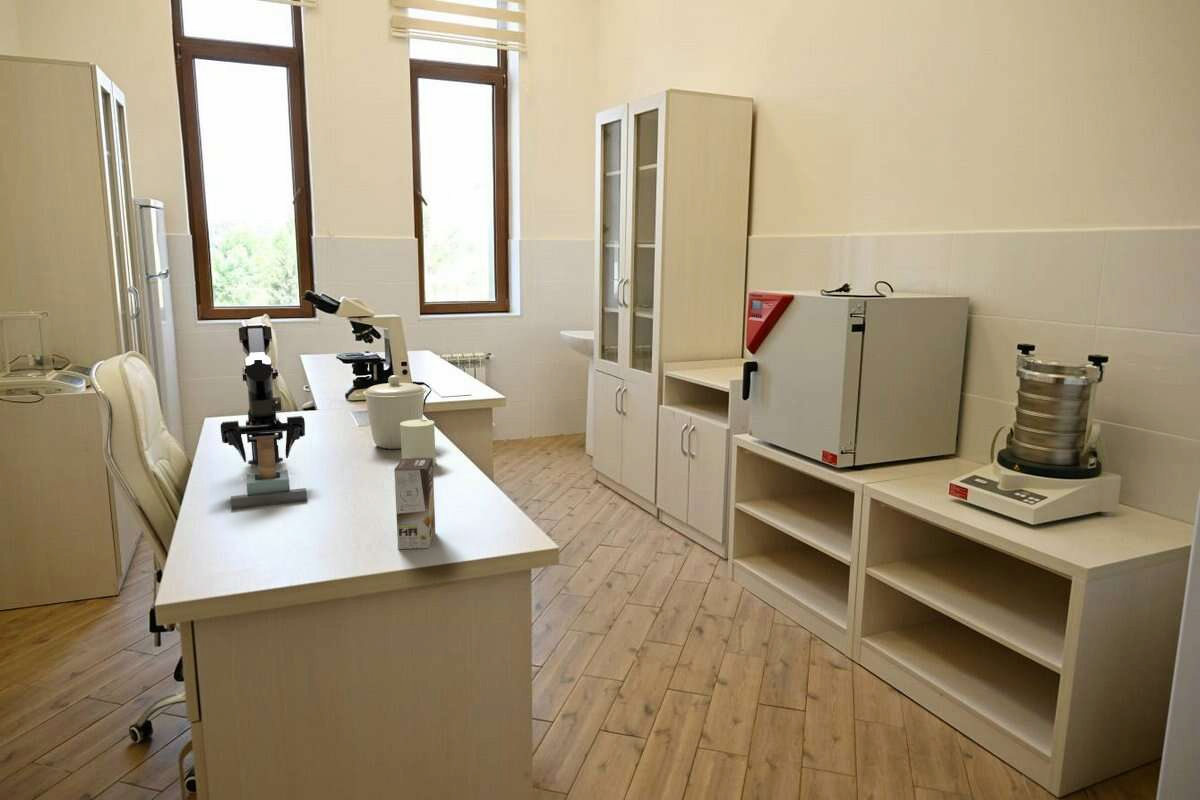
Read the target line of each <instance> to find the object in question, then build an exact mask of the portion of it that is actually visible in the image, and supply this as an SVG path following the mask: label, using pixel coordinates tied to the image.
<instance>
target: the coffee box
mask: <svg viewBox="0 0 1200 800" xmlns="http://www.w3.org/2000/svg"><path fill="white" fill-rule="evenodd" d="M393 470H394V471H393V472H394V489H395V490H394V491H395V509H396V510H395V511H396V512H395V513H396V529H397V530H396V533H397V534H396V535H397V537H396V538H397V549H398V550H411V549H412V550H413V548H414V549H415V550H416V548H417V549H430V547H431V545H432V542H433V540H434V537H435V535H436V514H435V513H436V511H435V509H436V508H435V483H434V481H435V480H434V466H433V458H406V459H402V458H401V460H400V461H399V462H398V464H397V465H396V467H394V469H393Z"/></svg>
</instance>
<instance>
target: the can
mask: <svg viewBox="0 0 1200 800" xmlns="http://www.w3.org/2000/svg"><path fill="white" fill-rule="evenodd" d="M435 424H436V423H435V421H434V420H432V419H431V420H430V419H425V418H423V419H417V420H408V421H404V422H401V423H400V429H401V447H402V448H401V460H402V459H406V458H433V467H434V466H436V465H435V464H437V459H436V457H437V455H436V436H435Z"/></svg>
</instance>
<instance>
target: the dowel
mask: <svg viewBox="0 0 1200 800" xmlns="http://www.w3.org/2000/svg"><path fill="white" fill-rule="evenodd" d="M257 450H258V464H257V465H258V472H259V478H260V480H265V479H274V478H276V469H277V468H276V462H275V452H274V438H271V437H265V438H259V439H257Z"/></svg>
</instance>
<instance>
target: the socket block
mask: <svg viewBox="0 0 1200 800" xmlns="http://www.w3.org/2000/svg"><path fill="white" fill-rule="evenodd" d="M246 490H247V491H246V492H247V494H246V495H248V494H257V493H266V492H275V491H284V490H291V488H290V478H289V472H288V469H279V470H276V478H274V479H265V480H260V478H259V471H258V472H249V473H246Z"/></svg>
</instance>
